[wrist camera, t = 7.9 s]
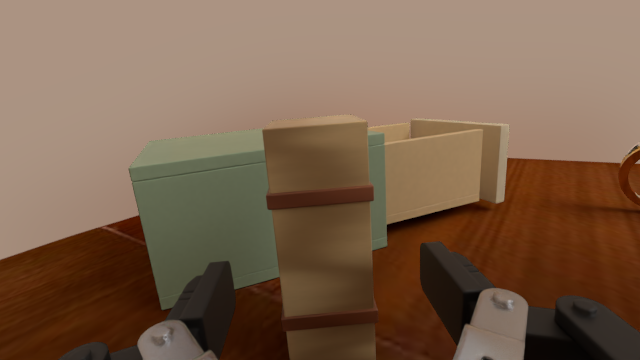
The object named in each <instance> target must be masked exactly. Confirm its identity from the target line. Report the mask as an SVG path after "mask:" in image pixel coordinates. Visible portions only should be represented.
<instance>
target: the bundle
mask: <svg viewBox="0 0 640 360" xmlns="http://www.w3.org/2000/svg"><path fill="white" fill-rule="evenodd" d="M262 134H263V143H264V151H265V159H266V168H267V176H268V184H269V188H268V191H267V194H266V202H267V209H268V210H272V217H273V226H274V234H275V242H276V250H277V259H278V267H279V275H280V284H281V292H282V300H283V305H282V315H281V323H282V331H283V332H285V331H286V333H287V342H288V350H289V358H290V360H376V348H375V323H376V322H378V309H377V306H376V303H375V300H374V292H373V265H372V237H371V209H370V201H374V186H373V184H372V183H371V182H370V181H369V154H368V126H367V121H365V120H363V119H361V118H358V117H356V116H354V115H351V114H350V115H338V116H325V117H313V118H300V119H287V120H276V121H272V122H270V123H269V124H268V125H267V126H266V127H265V128H264V129H262Z"/></svg>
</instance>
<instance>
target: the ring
mask: <svg viewBox="0 0 640 360" xmlns="http://www.w3.org/2000/svg"><path fill="white" fill-rule="evenodd" d="M639 159H640V142H638V143H637V144H635V145H634V146H633V147H632V148H631V149H630V150H629V151H628V153H627V154H626V155H625V157H624V158H623V160H622V162H621V164H620V168H619V173H618V178H619V183H620V187H621V189H622V191H623V192H624V194H625V195H626V196H627V197H628V198H629V199H630V200H631V201H632V202H634V203H635V204H637V205H639V206H640V196H639V195H637V194H636V193H635V192H634V191H633V190H632V189H631V187H630V185H629V181H628V174H629V171H630V169H631V167H632V166H633V165H634V164H635V163H636V162H637V161H638V160H639Z"/></svg>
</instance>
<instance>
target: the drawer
mask: <svg viewBox="0 0 640 360" xmlns="http://www.w3.org/2000/svg"><path fill="white" fill-rule="evenodd" d="M509 128H510V125H509V124H493V123H478V122H463V121H448V120H432V119H411V139H409V123H400V124H392V125H384V126H377V127H368V131H375V132H382V133H384V134H385V176H386V221H387V224H391V223H395V222H398V221H402V220H406V219H410V218H414V217H418V216H422V215H426V214H430V213H434V212H437V211H441V210H445V209H449V208H453V207H457V206H461V205H465V204H469V203H472V202H476V201H479V198H480V199H483V200H486V201H489V202H493V203H499V202H503V201H504V193H505V180H506V167H507V153H508V141H509Z"/></svg>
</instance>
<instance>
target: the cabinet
mask: <svg viewBox="0 0 640 360" xmlns="http://www.w3.org/2000/svg"><path fill="white" fill-rule="evenodd" d="M262 129H264V128H262ZM262 129H254V130H246V131H236V132H227V133H218V134H209V135H200V136H192V137H184V138H174V139H165V140H156V141H150V142H149V143H148V144H147V145H146V147H145V148H144V149H143V151H142V152H141V153H140V154H139V156H138V157H137V158H136V159H135V161H134V162H133V163H132V164H131V166H130V167H129V173H130V177H131V181H132V185H133V190H134V194H135V198H136V202H137V207H138V211H139V215H140V220H141V224H142V228H143V232H144V237H145V241H146V245H147V249H148V254H149V258H150V262H151V266H152V271H153V275H154V279H155V283H156V288H157V292H158V296H159V301H160V305H161V309H162V310H165V309H169V308H172V307H173V306H174V305H175V303H176V301H178V298H179V296H180V295H181V294H182V291H183V290H184V288H185V286H186V285H187V283H189V282H190V281H191V280H192V279H193V278H195V277H196V276H200V275H203V274H204V272H205V270H206V268H207V266H208V265H209V263H210V262H220V261H229V262H230V265H231V271H232V277H233V283H234V289H239V288H242V287H246V286H249V285H253V284H256V283H260V282H263V281H267V280H270V279H274V278H277V277H280V275H279V267H278V259H277V250H276V242H275V234H274V226H273V217H272V210H268V209H267V202H266V194H267V191H268V188H269V184H268V176H267V168H266V159H265V151H264V143H263V134H262ZM368 154H369V181H370V182H371V183H372V184H373V186H374V201H370V209H371V237H372V250H376V249H379V248H383V247H386V246H387V221H386V176H385V134H384V133H382V132H375V131H368Z"/></svg>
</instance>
